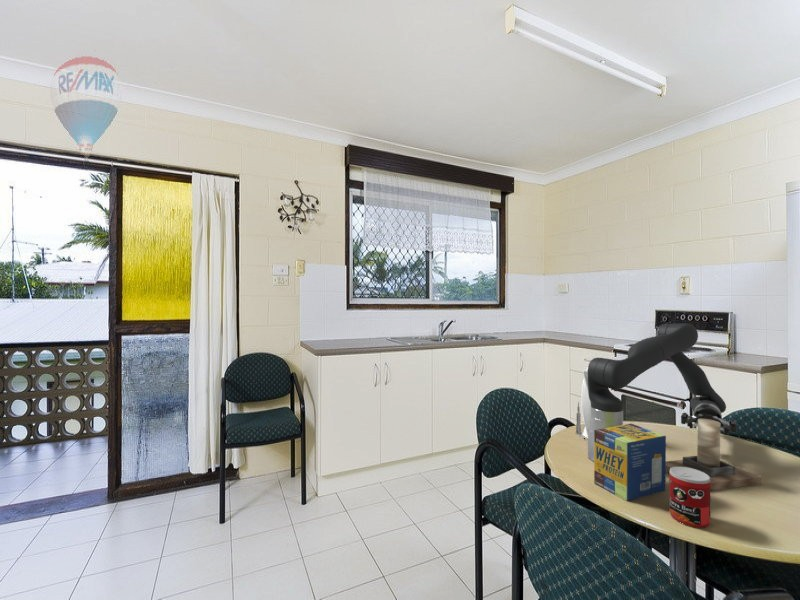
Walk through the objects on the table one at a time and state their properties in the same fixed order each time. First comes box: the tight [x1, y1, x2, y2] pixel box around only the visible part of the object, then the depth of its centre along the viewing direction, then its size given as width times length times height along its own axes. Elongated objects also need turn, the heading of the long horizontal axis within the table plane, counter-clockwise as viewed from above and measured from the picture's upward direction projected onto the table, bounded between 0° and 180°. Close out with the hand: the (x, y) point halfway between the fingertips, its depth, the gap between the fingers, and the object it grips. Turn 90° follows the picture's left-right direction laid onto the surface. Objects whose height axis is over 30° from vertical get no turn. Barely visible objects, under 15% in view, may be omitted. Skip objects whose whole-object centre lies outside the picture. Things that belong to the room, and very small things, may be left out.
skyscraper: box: [575, 367, 591, 441], centre depth 144 cm, size 8×8×28 cm
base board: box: [666, 455, 763, 491], centre depth 112 cm, size 20×14×4 cm
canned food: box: [668, 467, 712, 529], centre depth 90 cm, size 8×8×11 cm
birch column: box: [696, 419, 721, 468], centre depth 112 cm, size 5×5×14 cm
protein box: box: [593, 423, 667, 502], centre depth 106 cm, size 10×15×16 cm
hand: (708, 428), depth 120 cm, fingers open, 8 cm apart
